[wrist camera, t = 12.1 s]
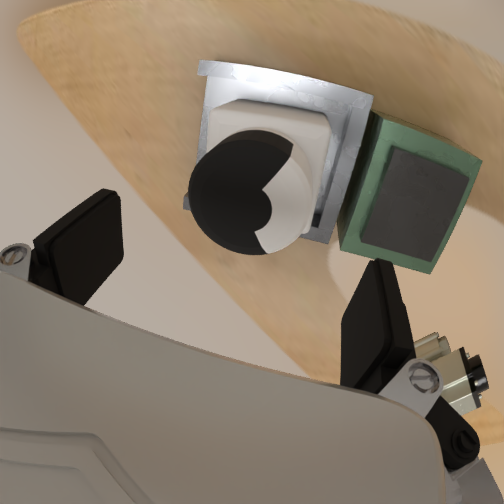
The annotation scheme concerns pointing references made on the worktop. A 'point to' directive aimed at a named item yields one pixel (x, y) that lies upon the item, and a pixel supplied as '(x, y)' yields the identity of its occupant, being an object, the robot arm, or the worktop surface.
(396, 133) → the grey and green bracket
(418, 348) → the pneumatic valve
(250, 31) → the worktop surface
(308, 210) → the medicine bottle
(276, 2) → the worktop surface
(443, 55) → the worktop surface
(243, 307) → the worktop surface
